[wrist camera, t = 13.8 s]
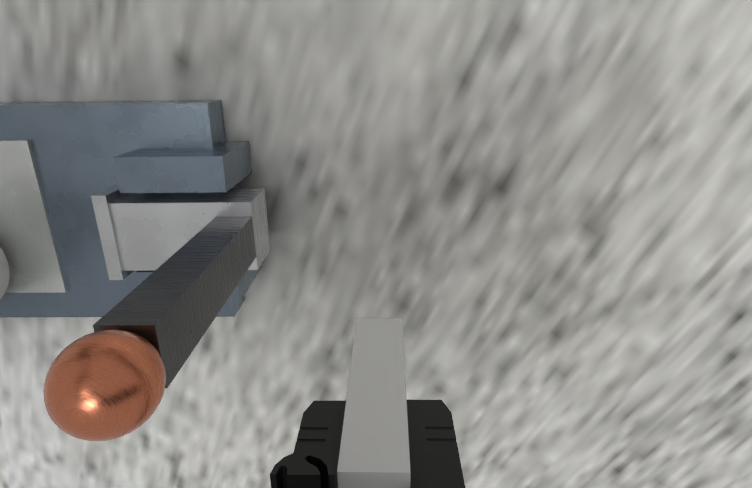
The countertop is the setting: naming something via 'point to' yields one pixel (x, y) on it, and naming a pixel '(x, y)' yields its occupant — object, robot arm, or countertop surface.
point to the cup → (3, 273)
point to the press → (94, 174)
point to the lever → (154, 302)
